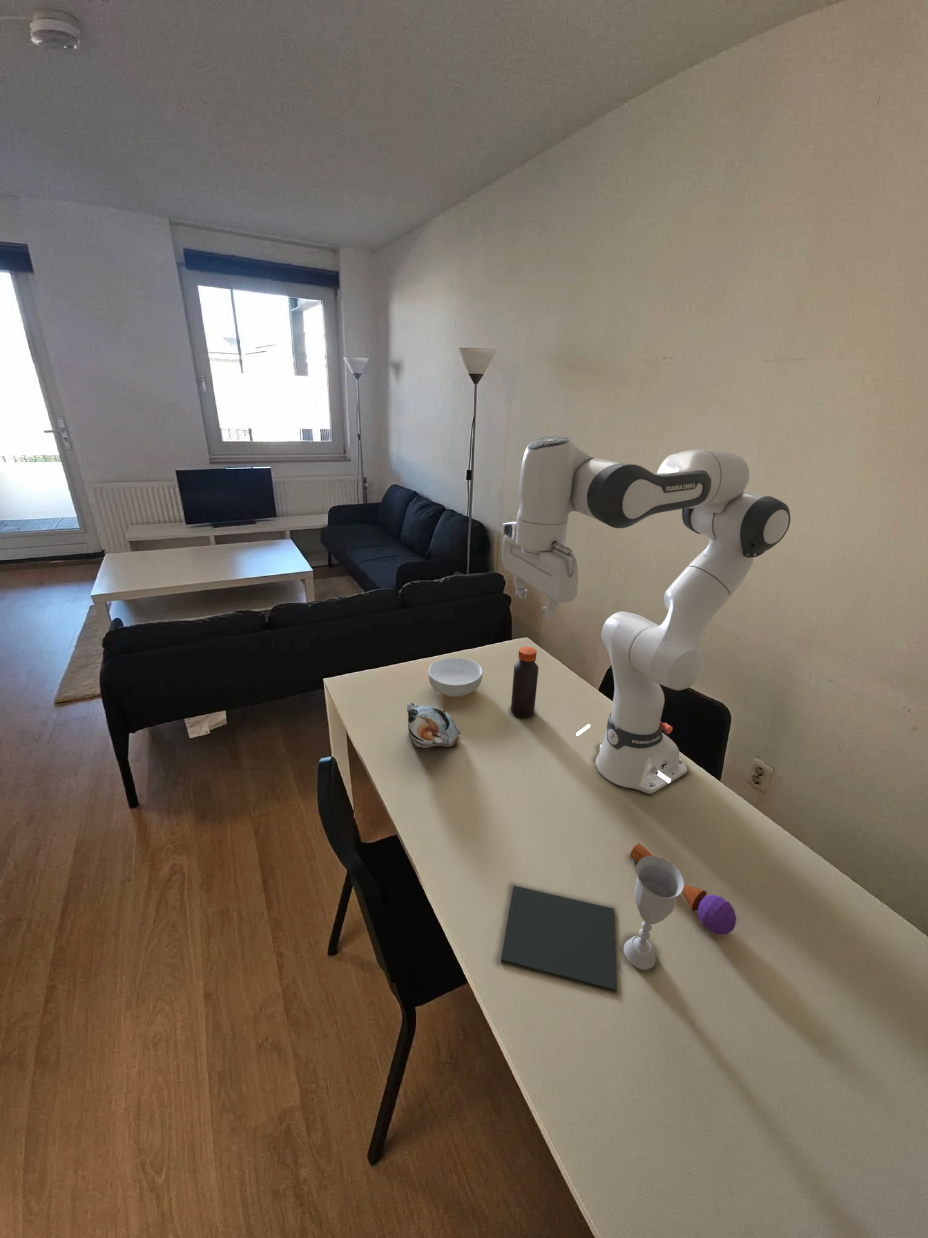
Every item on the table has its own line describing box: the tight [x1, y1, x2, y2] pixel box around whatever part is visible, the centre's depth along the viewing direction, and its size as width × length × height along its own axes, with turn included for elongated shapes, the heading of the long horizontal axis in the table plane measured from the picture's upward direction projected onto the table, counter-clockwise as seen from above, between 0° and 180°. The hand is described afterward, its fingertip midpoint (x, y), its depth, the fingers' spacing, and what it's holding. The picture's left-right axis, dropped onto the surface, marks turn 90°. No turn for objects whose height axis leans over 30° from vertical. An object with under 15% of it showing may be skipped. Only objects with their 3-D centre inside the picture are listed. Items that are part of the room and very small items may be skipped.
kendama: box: [629, 843, 737, 936], centre depth 92 cm, size 6×6×20 cm
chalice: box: [623, 855, 685, 971], centre depth 80 cm, size 7×7×18 cm
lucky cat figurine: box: [406, 702, 461, 749], centre depth 130 cm, size 15×12×14 cm
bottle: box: [510, 646, 539, 719], centre depth 143 cm, size 7×7×20 cm
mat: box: [500, 885, 617, 992], centre depth 86 cm, size 18×14×1 cm
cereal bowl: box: [427, 656, 483, 697], centre depth 156 cm, size 17×17×7 cm
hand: (533, 606), depth 95 cm, fingers open, 8 cm apart
